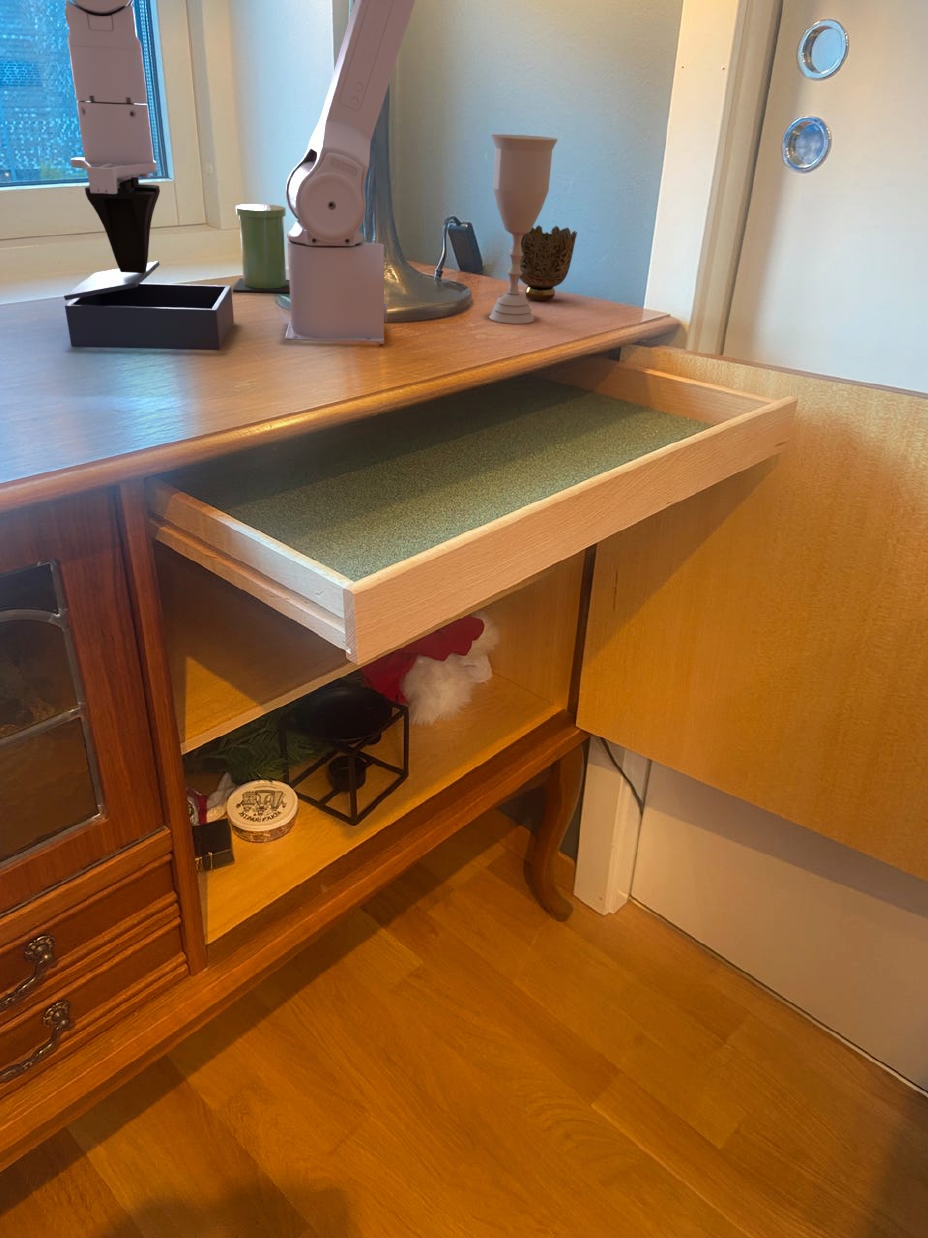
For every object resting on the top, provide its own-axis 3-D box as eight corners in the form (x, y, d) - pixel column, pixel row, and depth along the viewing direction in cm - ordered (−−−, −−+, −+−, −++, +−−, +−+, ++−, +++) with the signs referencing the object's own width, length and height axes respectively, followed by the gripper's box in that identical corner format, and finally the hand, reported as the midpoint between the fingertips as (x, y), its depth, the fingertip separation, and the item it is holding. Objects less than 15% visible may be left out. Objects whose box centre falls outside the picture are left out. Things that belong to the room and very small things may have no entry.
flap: (65, 300, 81) (63, 295, 80) (96, 276, 90) (94, 272, 90) (136, 287, 81) (135, 282, 80) (160, 264, 90) (158, 260, 90)
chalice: (543, 327, 100) (560, 140, 91) (481, 324, 100) (491, 137, 91) (539, 312, 106) (555, 136, 97) (481, 309, 106) (490, 133, 97)
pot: (290, 280, 113) (287, 205, 109) (287, 289, 108) (283, 211, 104) (243, 279, 112) (238, 203, 108) (238, 288, 108) (232, 209, 103)
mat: (297, 284, 114) (297, 279, 114) (294, 295, 108) (293, 291, 108) (239, 282, 113) (239, 277, 113) (233, 293, 107) (232, 289, 107)
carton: (72, 351, 83) (64, 305, 81) (101, 323, 92) (95, 281, 90) (220, 355, 84) (216, 309, 82) (234, 326, 94) (231, 285, 92)
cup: (505, 302, 110) (510, 230, 106) (512, 290, 117) (517, 222, 113) (567, 307, 110) (575, 235, 106) (571, 295, 116) (578, 227, 112)
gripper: (85, 97, 84) (107, 256, 91) (37, 102, 72) (66, 285, 78) (165, 102, 85) (180, 258, 92) (131, 107, 72) (152, 287, 79)
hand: (133, 271), depth 85 cm, fingers closed, pressing on flap
